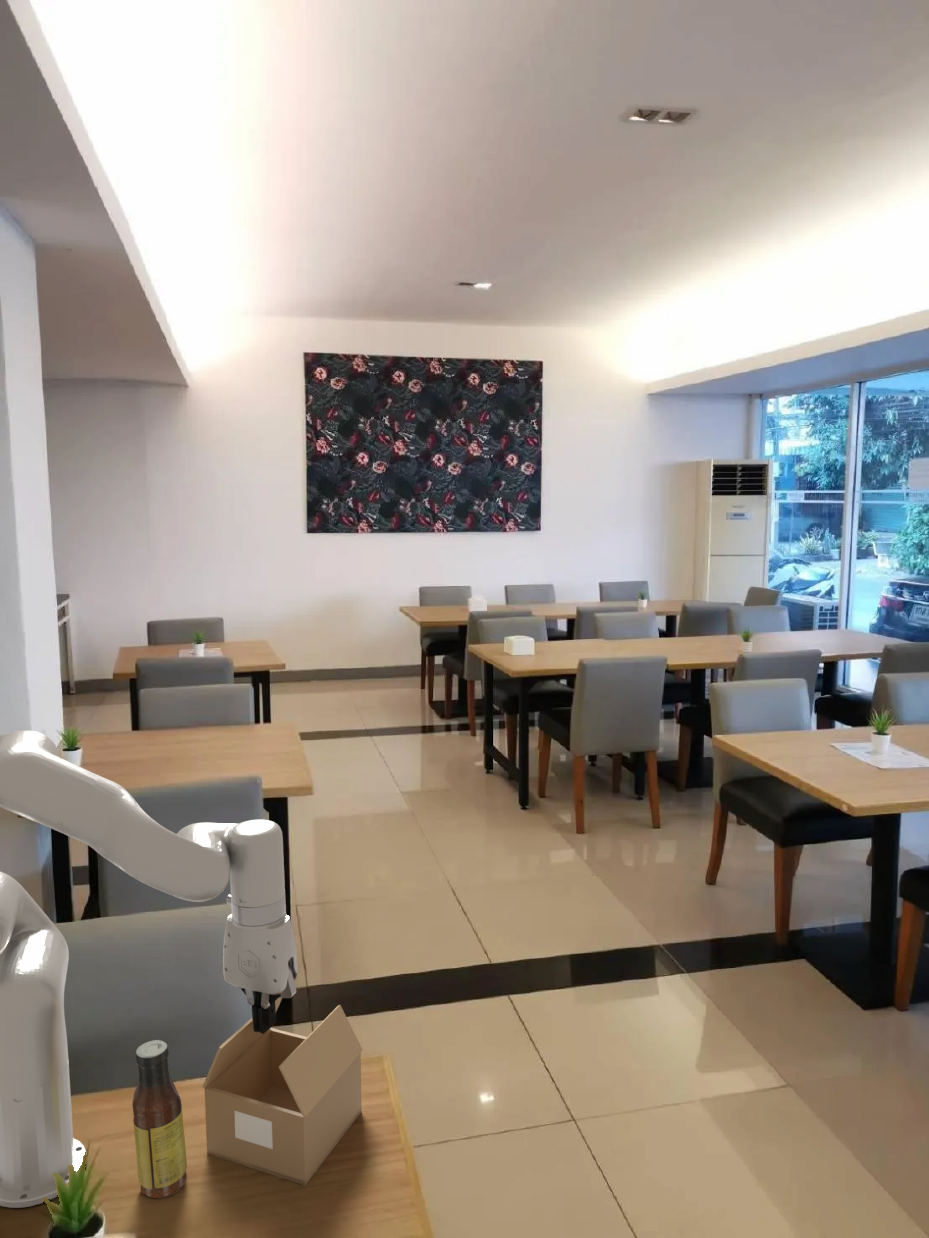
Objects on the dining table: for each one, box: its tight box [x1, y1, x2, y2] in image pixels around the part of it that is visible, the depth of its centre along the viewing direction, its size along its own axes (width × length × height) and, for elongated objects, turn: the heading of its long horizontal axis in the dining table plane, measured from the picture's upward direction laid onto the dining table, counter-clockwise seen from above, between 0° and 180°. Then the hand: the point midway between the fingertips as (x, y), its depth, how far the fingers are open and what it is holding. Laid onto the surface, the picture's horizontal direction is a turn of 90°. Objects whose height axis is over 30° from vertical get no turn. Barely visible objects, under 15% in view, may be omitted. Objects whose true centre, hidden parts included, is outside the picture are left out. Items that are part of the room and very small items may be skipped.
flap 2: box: [279, 1004, 363, 1118], centre depth 131 cm, size 7×16×1 cm
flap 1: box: [202, 998, 283, 1090], centre depth 136 cm, size 7×16×1 cm
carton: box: [204, 1027, 363, 1186], centre depth 134 cm, size 16×16×10 cm
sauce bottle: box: [131, 1039, 188, 1199], centre depth 123 cm, size 7×6×20 cm
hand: (264, 1027), depth 134 cm, fingers closed
